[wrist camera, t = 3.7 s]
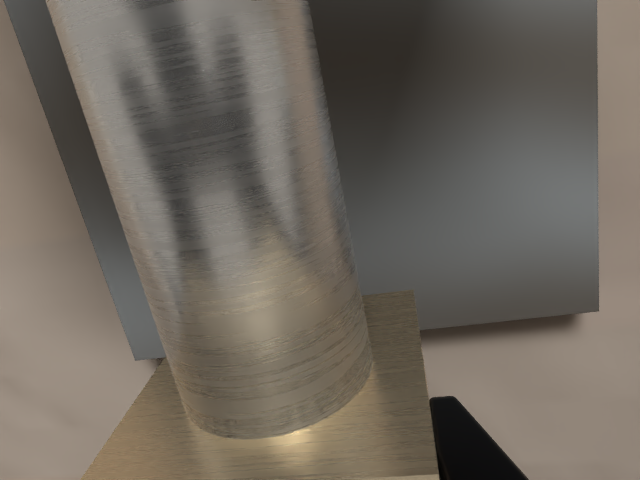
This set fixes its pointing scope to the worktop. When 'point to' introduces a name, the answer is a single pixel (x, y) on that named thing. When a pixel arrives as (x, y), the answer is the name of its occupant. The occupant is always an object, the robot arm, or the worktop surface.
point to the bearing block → (414, 154)
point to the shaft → (242, 251)
